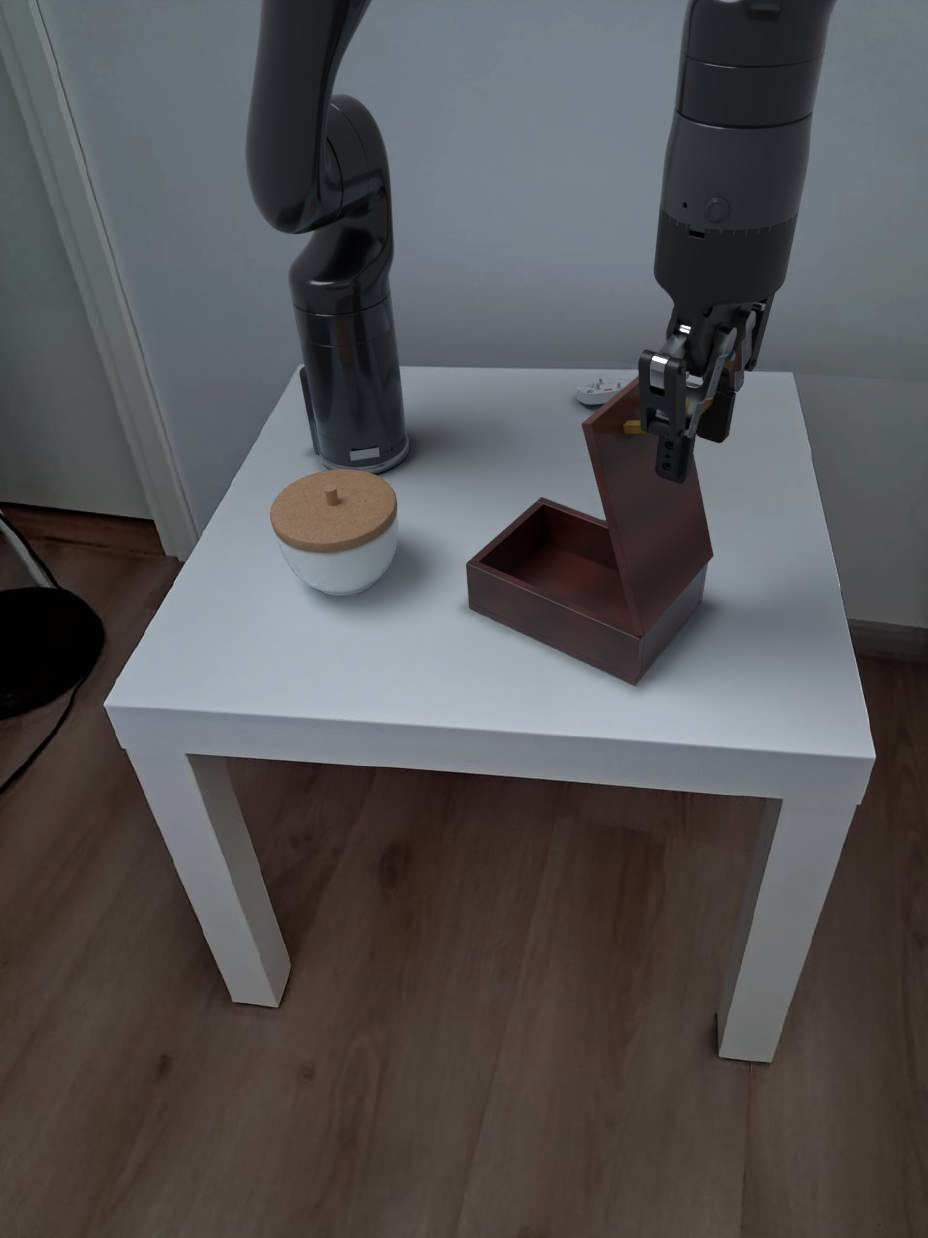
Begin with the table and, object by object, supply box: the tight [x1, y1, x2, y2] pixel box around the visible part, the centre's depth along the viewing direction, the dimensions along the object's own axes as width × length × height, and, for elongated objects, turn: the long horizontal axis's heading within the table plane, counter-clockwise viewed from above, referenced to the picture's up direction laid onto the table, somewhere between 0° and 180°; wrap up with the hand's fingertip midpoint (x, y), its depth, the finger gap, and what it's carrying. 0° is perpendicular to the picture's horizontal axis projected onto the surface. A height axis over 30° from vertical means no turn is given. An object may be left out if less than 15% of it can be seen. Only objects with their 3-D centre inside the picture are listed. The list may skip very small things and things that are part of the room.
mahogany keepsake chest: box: [465, 496, 709, 687], centre depth 77 cm, size 16×11×5 cm
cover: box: [581, 375, 714, 636], centre depth 66 cm, size 17×11×5 cm
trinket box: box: [269, 469, 399, 597], centre depth 81 cm, size 11×11×9 cm
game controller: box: [576, 377, 630, 405], centre depth 101 cm, size 6×12×3 cm, turn 31°
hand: (691, 456), depth 63 cm, fingers closed on cover, 5 cm apart
